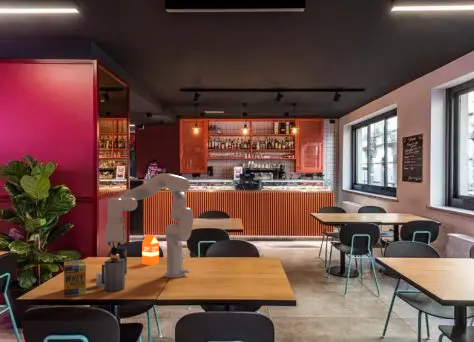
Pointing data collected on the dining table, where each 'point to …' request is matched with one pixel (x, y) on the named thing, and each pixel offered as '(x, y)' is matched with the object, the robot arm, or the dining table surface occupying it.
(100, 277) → the glossy white dome
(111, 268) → the carafe
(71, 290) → the protein box
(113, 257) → the plunger
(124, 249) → the canister
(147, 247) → the orange juice
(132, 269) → the dining table surface
